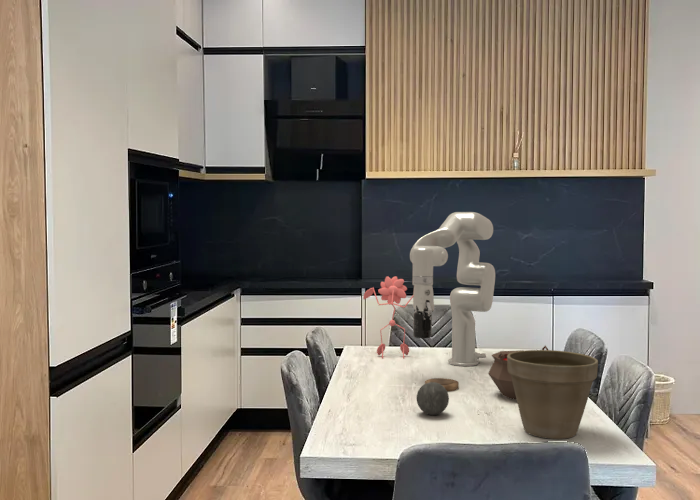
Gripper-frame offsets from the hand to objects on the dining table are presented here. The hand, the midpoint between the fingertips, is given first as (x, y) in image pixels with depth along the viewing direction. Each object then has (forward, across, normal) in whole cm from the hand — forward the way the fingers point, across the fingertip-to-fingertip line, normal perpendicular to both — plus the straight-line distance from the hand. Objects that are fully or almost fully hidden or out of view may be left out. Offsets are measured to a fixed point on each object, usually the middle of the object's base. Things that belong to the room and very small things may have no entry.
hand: (422, 328), depth 271 cm
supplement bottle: (+4, 0, 0) cm, 4 cm away
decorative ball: (+20, -42, +13) cm, 49 cm away
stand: (+20, -11, -3) cm, 23 cm away
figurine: (+20, +50, -5) cm, 54 cm away
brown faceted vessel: (+20, -29, -26) cm, 44 cm away
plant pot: (+20, -69, -13) cm, 73 cm away
